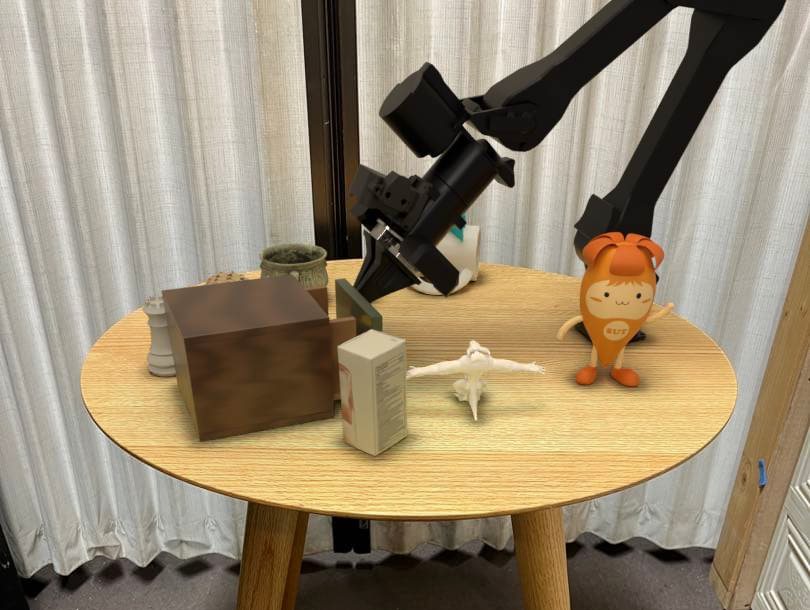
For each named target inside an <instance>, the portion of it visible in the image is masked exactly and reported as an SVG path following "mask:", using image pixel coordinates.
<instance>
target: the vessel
mask: <svg viewBox="0 0 810 610" xmlns="http://www.w3.org/2000/svg"><path fill="white" fill-rule="evenodd" d="M327 256H328V252H327V250H326V249H324V247H321V246H319V245H314V244H310V243H300V242H299V243H297V242H296V243H282V244H276V245H273V246H269V247H266V248H264V249H262V250H261V251H260V252H259V253H258V257H259V260H260V261H261V262H260V263H259V269H261V271H260V276H259V278H267V277H275V276H283V275H291V274H293V275H294V276H295V278H296V279H297V280H298V281H299V282H300V283H301V285H302V286H303V287H304V288H306V287H313V286H321V285H325V286H326V287H327V286H328V283H329V275H328V271H327V266H328V262H327V260H326V257H327Z"/></svg>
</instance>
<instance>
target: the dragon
mask: <svg viewBox="0 0 810 610" xmlns="http://www.w3.org/2000/svg"><path fill="white" fill-rule="evenodd" d="M408 366H409V368H410V369H408V370H406V381H407V380H409V379H411V378H418V377H422V376H433V375H434V376H436V375H439V376H446V375H452V374H459V373H463V374H464V378H461V379H458V380H456V381H455V382H454V383H453V384H452V388H453V389H454V390H455V391H456V392H454V396H456V397H457V398H458V401H459V402H463V401H466V402H468V404H469V406H470V408H471V411H472V414H473V418H474V420H475V421H478V402H479V401H481V395H482V393H483V391H484V389H485V388H487V385H488V384H487V383H488V382H487V381H486V380H485V379H483V378H482V375H484V374H487V373H488V372H493V373H506V374H507V373H517V372H518V373H519V372H525V373H533V374H539V375H543V376H545V377H546V376H547V374H546V373H547V372H548V370H546V367H545V366H543V365H538V364H537V361H532V362H531V363H521V362H517V361H513V360H509V359H504V358H494V357H493V356H491V351H490V350H489V348H487V347H484V346H481V345H480V343H479V342H477V341H475V340H473V339H472V340H470V341H469V347H468V348H467V349H466V354H464V355H463V356H461V357H460V358H459V359H453V360H445V361H441V362H438V363H437V362H436V363H433V364H431V365H427V366H423V367H419V366H418V367H415V365H408Z"/></svg>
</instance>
